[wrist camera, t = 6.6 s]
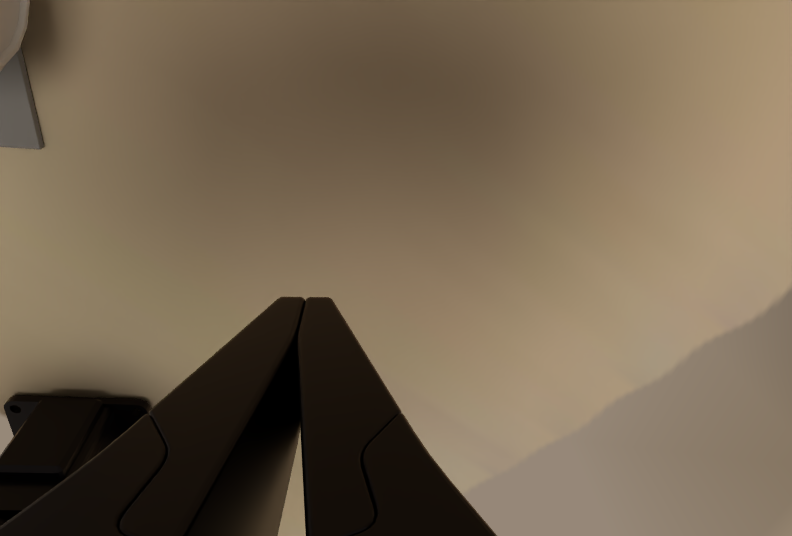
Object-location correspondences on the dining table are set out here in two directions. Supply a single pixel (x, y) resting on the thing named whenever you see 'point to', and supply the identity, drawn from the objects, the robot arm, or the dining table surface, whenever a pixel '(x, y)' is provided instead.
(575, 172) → the dining table surface
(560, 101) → the dining table surface
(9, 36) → the can
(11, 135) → the mat
